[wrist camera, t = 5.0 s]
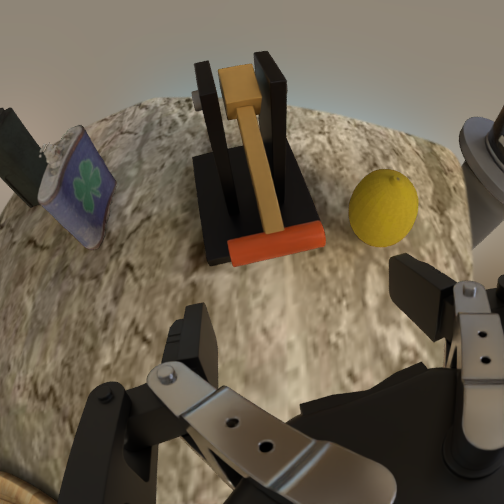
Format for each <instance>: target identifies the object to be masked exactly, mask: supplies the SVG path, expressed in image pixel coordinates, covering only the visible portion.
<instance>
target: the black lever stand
mask: <svg viewBox="0 0 504 504" xmlns="http://www.w3.org/2000/svg"><path fill="white" fill-rule="evenodd" d="M254 64H255V75H256V78H257V82H258V85H259V88H260V92H261V95H262V102H261V111H260V114H259V128H260V133H261V137H262V140H263V144H264V148H265V152H266V156H267V160H268V164H269V168H270V172H271V176H272V180H273V184H274V188H275V192H276V196H277V200H278V204H279V208H280V213H281V217H282V221H283V225H284V228H285V227H290V226H294V225H299V224H303V223H308V222H313V221H317V220H318V221H320V219H319V216H318V214H317V211H316V208H315V206H314V203H313V201H312V198H311V196H310V193H309V191H308V188H307V186H306V183H305V181H304V178H303V176H302V173H301V171H300V169H299V166H298V164H297V161H296V159H295V157H294V154H293V152H292V150H291V147H290V145H289V143H288V141H287V138H286V118H287V80H286V79H285V77H284V75H283V74H282V72H281V71H280V69H279V68H278V66H277V64H276V63H275V61H274V60H273V58H272V57H271V55H270V54H269V52H268V51H262V52H255V53H254ZM194 67H195V74H196V80H197V86H198V90H197V91H193V92H192V99H193V103H194V107H195V111H201V110H203V114H204V119H205V123H206V127H207V131H208V135H209V139H210V143H211V147H212V151H213V152H211V153H207V154H203V155H199V156H194V157H192V159H193V167H194V175H195V183H196V190H197V197H198V205H199V212H200V219H201V225H202V232H203V239H204V245H205V251H206V258H207V262H208V264H209V266H214V265H218V264H223V263H227V262H232V261H231V257H230V253H229V248H228V243H227V241H228V240H231V239H235V238H240V237H244V236H249V235H253V234H258V233H262V232H264V231H263V227H262V222H261V218H260V214H259V209H258V205H257V201H256V197H255V192H254V188H253V184H252V179H251V175H250V171H249V167H248V163H247V158H246V154H245V150H244V146H239V147H234V148H229V149H228V148H227V143H226V138H225V132H224V127H223V122H222V117H221V112H220V106H219V101H218V96H217V91H216V87H215V84H214V80H213V76H212V72H211V68H210V63H209V61H203V62H199V63H195V64H194Z"/></svg>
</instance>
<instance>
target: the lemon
mask: <svg viewBox="0 0 504 504" xmlns="http://www.w3.org/2000/svg"><path fill="white" fill-rule="evenodd" d="M417 213H418V196H417V192H416V190H415V188H414V186H413V184H412V183H411V182H410V180H409V179H408V178H407V177H406V176H404V175H403V174H401V173H400V172H397V171H395V170H390V169H379V170H376V171H373V172H371V173H370V174H368V175H367V176H365V177H364V178H363V179H362V180H361V181H360V183H359V184H358V185H357V186H356V188H355V190H354V192H353V194H352V197H351V199H350V202H349V220H350V225H351V227H352V229H353V231H354V233H355V234H356V235H357V236H358V238H359V239H361V240H362V241H363V242H364V243H366V244H368V245H370V246H375V247H387V246H391V245H394V244H396V243H397V242H399V241H401V240H402V239H403V238H404V237H405V236H406V235H407V234H408V232H409V231H410V230H411V228H412V227H413V224H414V222H415V219H416V216H417Z"/></svg>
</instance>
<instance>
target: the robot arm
mask: <svg viewBox="0 0 504 504" xmlns="http://www.w3.org/2000/svg"><path fill="white" fill-rule="evenodd" d="M485 146H486V149H487V151H488V153H489V155H490V156H491V158H492V159H493V161H494V162H495V163H496V165H497V166H498V167H499V168H500V169H501V171H502V172H503V173H504V106H503V108H502V110H501V112H500V113H499V115H498V117H497V119H496V121H495V122H494V124H493V126H492V127H491V129H490V131H488V133H487V135H486V136H485ZM389 293H390V297H391V299H392V301H393V302H394V303H395V304H396V305H397V306H398V307H399V308H400V309H401V310H402V311H403V312H404V313H405V314H406V315H407V316H408V317H409V318H410V319H411V320H412V321H413V322H414V323H415V324H416V325H417V326H418V327H419V328H420V329H421V330H422V331H423V332H424V333H425V334H426V335H427V336H428V337H429V338H430V339H431V340H432V341H433V342H435V341H437V340H440V339H442V338H444V337H445V338H446V339H445V344H444V361H443V367H441V368H430V369H427V367H426V366H425V365H424V364H423V363H422V362H419V363H417V364H415V365H413V366H410V367H408V368H405V369H403V370H401V371H398V372H396V373H394V374H393V375H391V376H390V377H388V378H387V379H385V380H384V381H382V382H381V383H379V384H377V385H376V386H374V387H373V388H371V389H369V390H365V391H358V392H351V393H343V394H335V395H330V396H327V397H323V398H320V399H316V400H313V401H309V402H305V403H302V404H300V410H301V414H299V415H297V416H295V417H294V418H292V419H291V420H289V421H288V422H286V423H284V422H283V421H281V420H279V419H278V418H276V417H274V416H273V415H271V414H269V413H268V412H266V411H265V410H263V409H261V408H260V407H258V406H257V405H255V404H253V403H252V402H250V401H249V400H247V399H246V398H244V397H243V396H241V395H240V394H238V393H237V392H235V391H234V390H232V389H231V388H229V387H227V386H222V387H220V388H219V389H218V346H217V340H216V336H215V332H214V329H213V326H212V323H211V320H210V317H209V314H208V311H207V308H206V305H205V303H204V302H203V303H198V304H193V305H188V306H186V309H185V314H184V319H179V320H176V321H175V322H174V323H173V325H172V326H171V327H170V329H169V333H168V337H167V341H166V343H167V344H166V345H165V350H164V354H163V358H162V362H161V364H160V365H158V366H156V367H155V368H153V369H152V370H151V371H150V373H149V374H148V376H147V383H145V384H143V385H141V386H138V387H135V388H132V389H129V390H125V389H124V387H123V386H122V385H121V384H120V383H118V382H106V383H103V384H101V385H99V386H97V387H96V388H95V389H94V390H93V391H92V392H91V393H90V394H89V397H88V399H87V402H86V405H85V408H84V411H83V414H82V417H81V420H80V423H79V426H78V429H77V432H76V435H75V438H74V442H73V445H72V448H71V452H70V455H69V459H68V462H67V466H66V470H65V473H64V477H63V481H62V485H61V489H60V494H59V498H58V503H57V504H156V484H157V461H158V445H159V443H162V442H165V441H168V440H171V439H174V438H177V437H179V436H180V438H181V439H182V440H183V441H184V442H185V443H186V444H187V445H188V446H189V447H190V448H191V449H192V450H193V451H194V452H195V453H196V454H197V455H198V456H199V457H200V458H201V459H202V460H203V461H204V462H205V463H206V464H208V465H209V466H210V467H211V468H212V469H213V471H214V472H215V473H216V474H217V475H218V476H219V477H220V478H221V479H222V480H223V481H224V482H225V483H226V484H227V485H228V486H229V487H230V488H231V489H233V492H232V493H231V494H230V496H229V497H228V498H227V500H226V501H225V502H224V503H223V504H504V275H501V276H500V277H499V278H498V283H497V288H493V289H488V290H485V288H484V286H482V285H481V284H479V283H477V282H474V281H461V282H458V283H457V282H456V281H454V280H453V279H451V278H450V277H448V276H447V275H445V274H444V273H441V272H440V271H439V270H437V269H435V268H434V267H433V266H431V265H429V264H428V263H425V262H421V261H418V260H417V259H415V258H414V257H412V256H410V255H409V254H407V253H403V254H400V255H396V256H393V257H391V258H390V259H389Z"/></svg>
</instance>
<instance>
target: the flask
mask: <svg viewBox="0 0 504 504" xmlns="http://www.w3.org/2000/svg"><path fill="white" fill-rule="evenodd" d="M61 139H62V140H61V141H60V143H59V144H58V146H56V145H54V147H53V145H52V144H50V143H49V144H48V145H47V147H46V149H45V151H44V155H45V156H46V158H47V159H46V162H47V163H48V165H47V167H46V170H45V173H44V175H43V178H42V182H41V185H40V188H39V193H38V202H39V203H40V204H41V205H42V206H43V207H44V208H45V209H46V210H47V211H48V212H49V213H50V214H51V215H52V216H53V217H54V218H55V219H56V220H57V221H58V222H59V223H60V224H61V225H62V226H63V227H64V228H65V229H67V230H68V231H69V232H70V233H71V234H72V235H73V236H74V237H75V238H76V239H77V240H78V241H79V242H81V243H82V245H83V246H84V247H85V248H87V249H90V250H94V249H97V248H99V246H100V244H101V242H102V241H103V239H104V236H105V233H106V232H105V231H104V230H105V226H106V223H107V221H108V217H109V216H110V215H109V214H110V209H109V205H110V204H111V203H112V196H113V195H114V194H115V189H116V187H117V182H116V180H115V179H114V177H113V176H112V174H111V173H110V172H109V170H108V168H107V166H106V165H105V163H104V161H103V159H102V158H101V156H100V155H99V153H98V152H97V150H96V148H95V147H94V145H93V143H92V141H91V140H90V138H89V136H88V134H87V133H86V130H85V129H84V127H83V126H82V125H78V126H75V127H73V128H70V129H69V130H68V131H67V132H66V134H64V135H63V136H62V138H61ZM45 146H46V144H44V145H43V147H42V148H41V149H40V153H41V152H43V150H44V148H45ZM39 157H41V155H39Z"/></svg>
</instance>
